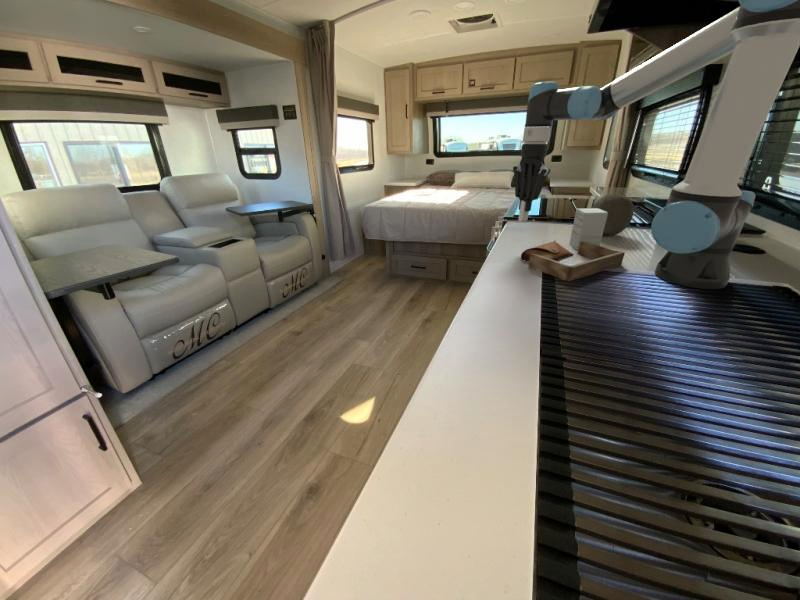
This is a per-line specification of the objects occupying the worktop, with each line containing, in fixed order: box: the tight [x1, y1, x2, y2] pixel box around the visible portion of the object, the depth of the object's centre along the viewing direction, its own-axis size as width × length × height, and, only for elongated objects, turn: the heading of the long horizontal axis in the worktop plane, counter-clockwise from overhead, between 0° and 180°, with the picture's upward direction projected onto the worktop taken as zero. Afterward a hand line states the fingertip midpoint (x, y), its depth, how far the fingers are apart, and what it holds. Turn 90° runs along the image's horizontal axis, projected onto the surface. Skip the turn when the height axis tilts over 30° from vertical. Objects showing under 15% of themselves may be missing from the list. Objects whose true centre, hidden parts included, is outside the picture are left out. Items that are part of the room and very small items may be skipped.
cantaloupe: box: [591, 193, 635, 237], centre depth 124 cm, size 14×14×15 cm
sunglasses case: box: [520, 240, 574, 262], centre depth 106 cm, size 18×7×7 cm, turn 127°
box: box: [528, 241, 626, 283], centre depth 98 cm, size 14×24×4 cm, turn 119°
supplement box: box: [569, 207, 608, 251], centre depth 112 cm, size 7×7×13 cm
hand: (522, 220), depth 111 cm, fingers closed
